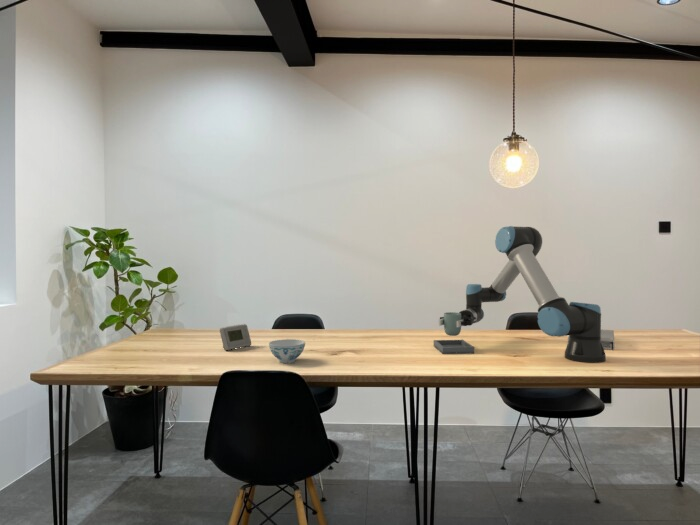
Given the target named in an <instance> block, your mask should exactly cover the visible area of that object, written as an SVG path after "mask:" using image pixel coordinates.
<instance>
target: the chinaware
mask: <svg viewBox="0 0 700 525" xmlns="http://www.w3.org/2000/svg"><path fill="white" fill-rule="evenodd" d="M268 346H269V347H268V348H269V349H270V352H271V354H272V355H273V356H274V357H275V358H276V359H277V360H278V362H279V363H281V364H287V362H290V363H294V362H296V359H298V358H299V357H300V356H301V355H302V353H303V352H304V349H305V346H306V340H302V339H295V338H294V339H293V338H290V339H289V338H287V339H277V340H276V339H275V340H272V341H270V342H269V343H268Z"/></svg>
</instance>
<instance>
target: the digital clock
mask: <svg viewBox="0 0 700 525" xmlns="http://www.w3.org/2000/svg"><path fill="white" fill-rule="evenodd" d="M219 333H220V338H221V342H222V349H223V348H224V349H223V350H224V351H225V350H228V351H232V350H231V349H235V348H240V347H244V348H246V347H245V346H247V347H251V346H250V345H252V341H251V340H252V338H251V335H250V332H249V328H248V326H247V324H246V323H243V324H235V325H228V326H224V327H220V328H219ZM240 349H241V348H240ZM235 350H236V349H235Z"/></svg>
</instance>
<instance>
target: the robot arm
mask: <svg viewBox="0 0 700 525" xmlns="http://www.w3.org/2000/svg"><path fill="white" fill-rule="evenodd" d="M494 244H495V248H496V249H497V251H498V252H499V253H503V254H505V255H506V257H507V258H508V260H509V261H507V263H506V265H505V266H504V267H503V268H502V270H501V271H500V273H499V274H498V275H497V277H496V278H495V280H494V281H492V284H490V286H489V287H487V286H486V287H482V285H481V284H480V283H469V284H467V285H466V286H465V287H466V289H465V296H466V297H465V299H466V305H465V306H466V308H465V309H463V310H461V311H459V312H458V313H461V320H459V321H457V327H461V328H462V327H467V326H469V327H470V326H472V325H474V324H476V323H479V322H480V321H482V320H483V319H484V316H485V312H484V310H483V308H482V303H498V302H503V301H505V299H506V296H507V290H508V289H509V287H511V285H512V284H513V282H514V281H515V280H516V278H518V276H519V274H521V276H522V278H523V280H524V281H525V283H526V285H527V286H528V288H529V290H530V292H531V294H532V296H533V297H534V299H535V301H536V303H537V304H538V308H537V312H538V313H537V324H538V327H539V328H540V330H541V331H542V332H543V333H544V334H545V335H548V336H550V337H559V338H560V337H566V336H568V337H569V342H568V341H567V344H566V347H565V350H564V358H565V359H567V360H570V361H573V362H574V361H575V362H582V363H602V362H605V361H607V360H606V358H607V356H606V352H605V349H603V346H602V343H601V330H602V325H601V322H602V312H601V306H600V305H598V304H594V303H586V302H575V301H570V302H569V303H568V301H567V300H566V298H565V297H562V296H560V295H559V294H558V292H557V291H556V290H555V288H554V286H553V285H552V282H551V281H550V279H549V277H548V276H547V274H546V272H545V271H544V269H543V267H542V266H541V264H540V262H539V260H538V259H537V255H538V254H539V253H540V251H541V249H542V246H543V236H542V234H541V232H540V231H539V230H538V229H536V228H535V227H532V226H513V225H510V226H504V227H501V228H500V229H499V230H498V231H497V233H496V235H495V240H494ZM438 326H439V327H441V326H444V316H440V317H439V319H438Z"/></svg>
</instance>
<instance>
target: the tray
mask: <svg viewBox="0 0 700 525" xmlns="http://www.w3.org/2000/svg"><path fill="white" fill-rule="evenodd" d="M433 347H434V348H435V349H437V351H439V353H441V354H442V355H462V354H463V355H464V354H467V355H469V354H475V347H474V346H473V345H472V344H470V343H468V342H467V341H466V340H464V339H437V340H436V339H434V340H433Z"/></svg>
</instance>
